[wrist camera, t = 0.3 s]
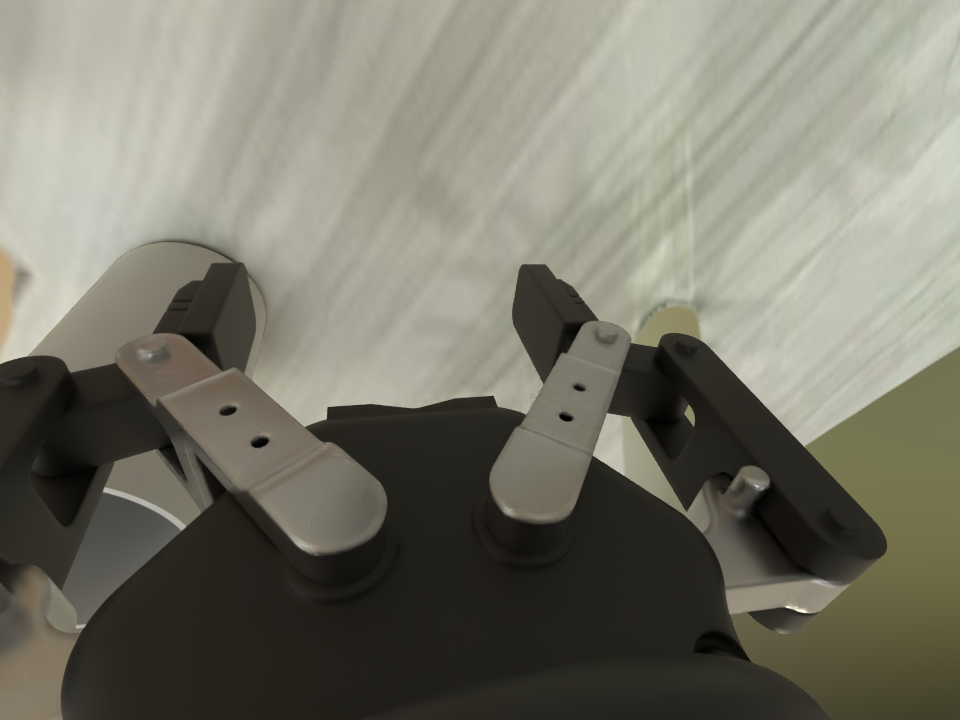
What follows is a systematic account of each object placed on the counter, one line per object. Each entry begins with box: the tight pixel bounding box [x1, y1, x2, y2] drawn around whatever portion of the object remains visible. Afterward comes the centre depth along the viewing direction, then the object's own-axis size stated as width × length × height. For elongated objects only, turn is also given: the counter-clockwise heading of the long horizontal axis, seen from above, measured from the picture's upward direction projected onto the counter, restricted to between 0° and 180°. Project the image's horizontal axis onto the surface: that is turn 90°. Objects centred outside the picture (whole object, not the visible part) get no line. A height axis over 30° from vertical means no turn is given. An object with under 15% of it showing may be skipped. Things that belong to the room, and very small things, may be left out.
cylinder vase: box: [29, 242, 266, 628], centre depth 32 cm, size 12×12×25 cm
